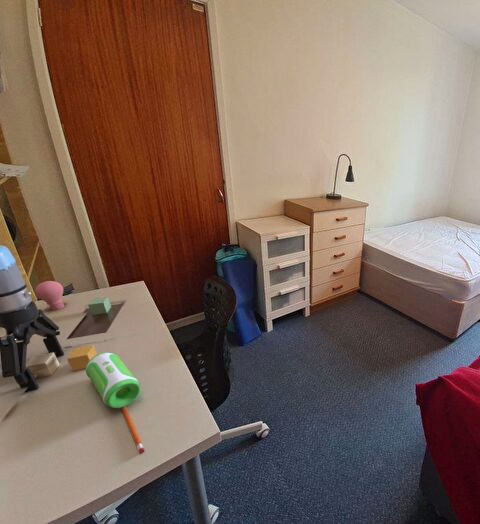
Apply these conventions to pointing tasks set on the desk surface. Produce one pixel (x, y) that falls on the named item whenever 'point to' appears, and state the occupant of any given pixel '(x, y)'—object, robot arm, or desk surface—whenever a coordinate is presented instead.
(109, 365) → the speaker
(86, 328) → the board
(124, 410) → the pencil
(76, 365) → the orange cube
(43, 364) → the beige cube
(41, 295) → the light bulb
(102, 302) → the green cube
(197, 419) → the desk surface
